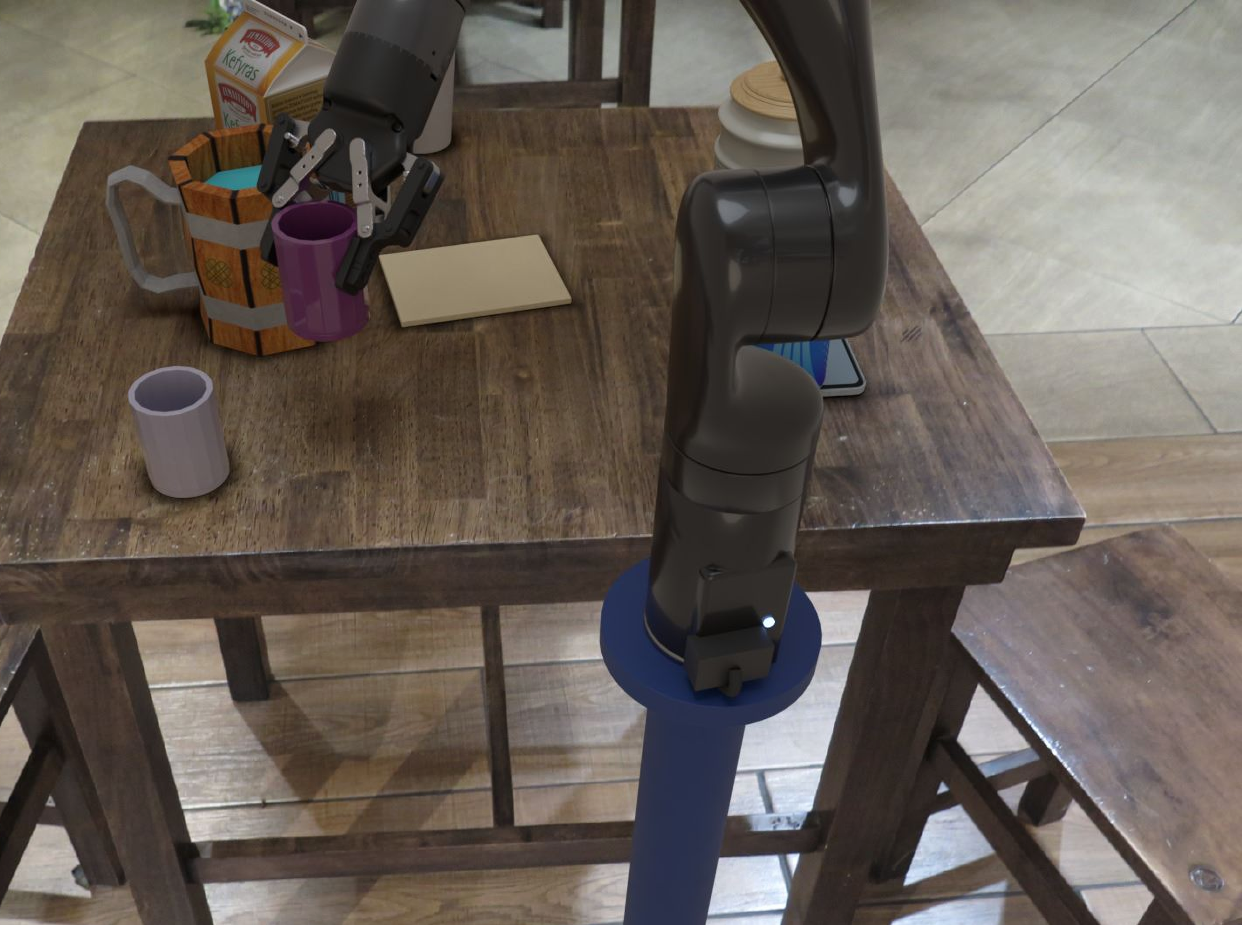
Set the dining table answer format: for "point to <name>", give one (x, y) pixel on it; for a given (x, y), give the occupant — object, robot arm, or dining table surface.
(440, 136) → the coffee cup
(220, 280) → the mug
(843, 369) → the smartphone
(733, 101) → the jar
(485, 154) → the dining table surface
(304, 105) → the milk carton
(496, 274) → the placemat
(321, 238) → the plum cup
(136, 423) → the grey cup
